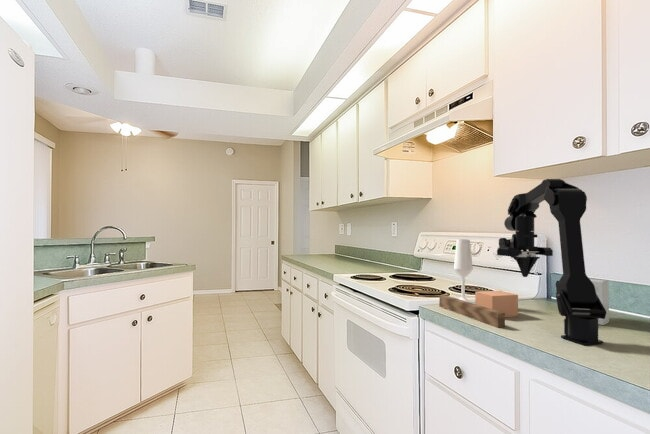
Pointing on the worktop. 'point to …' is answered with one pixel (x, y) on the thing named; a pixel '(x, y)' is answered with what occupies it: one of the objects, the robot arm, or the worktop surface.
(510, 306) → the brick
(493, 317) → the plank
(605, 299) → the small box
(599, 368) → the worktop surface
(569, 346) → the worktop surface
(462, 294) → the champagne flute
